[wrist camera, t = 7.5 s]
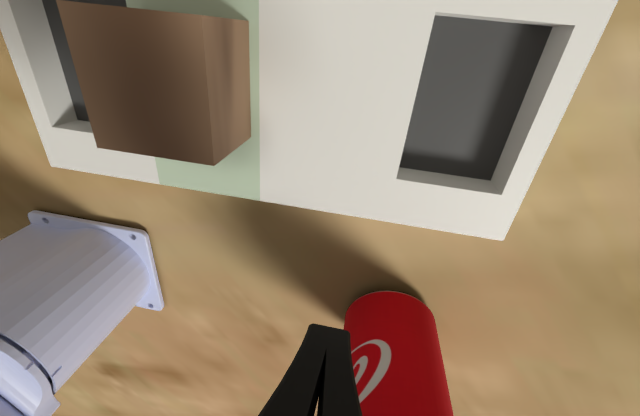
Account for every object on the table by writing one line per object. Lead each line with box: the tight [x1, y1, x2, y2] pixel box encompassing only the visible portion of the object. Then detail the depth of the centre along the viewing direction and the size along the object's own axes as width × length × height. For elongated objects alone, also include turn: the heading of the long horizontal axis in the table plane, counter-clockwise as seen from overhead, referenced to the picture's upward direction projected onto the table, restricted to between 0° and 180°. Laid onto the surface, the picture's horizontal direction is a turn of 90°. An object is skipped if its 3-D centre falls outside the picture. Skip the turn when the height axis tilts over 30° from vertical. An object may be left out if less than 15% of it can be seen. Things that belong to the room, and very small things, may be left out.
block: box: [56, 0, 251, 166], centre depth 13 cm, size 5×5×4 cm
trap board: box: [0, 0, 618, 241], centre depth 15 cm, size 26×12×2 cm, turn 85°
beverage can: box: [344, 291, 453, 416], centre depth 17 cm, size 6×6×12 cm
